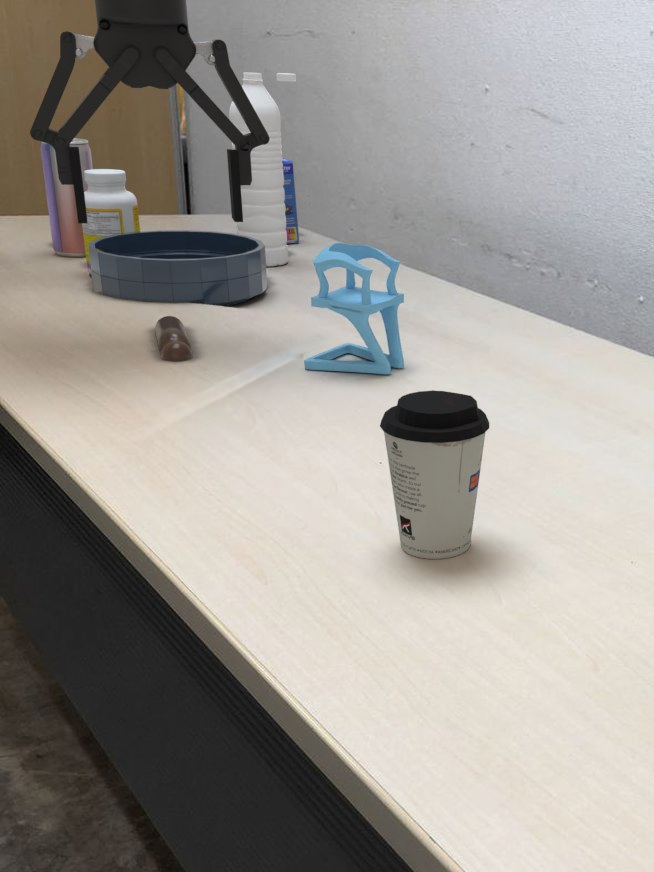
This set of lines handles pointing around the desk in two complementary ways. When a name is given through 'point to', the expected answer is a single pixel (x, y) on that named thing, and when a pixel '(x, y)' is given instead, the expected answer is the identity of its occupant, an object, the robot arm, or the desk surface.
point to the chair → (359, 310)
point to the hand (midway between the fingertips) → (162, 220)
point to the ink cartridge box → (290, 202)
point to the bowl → (179, 266)
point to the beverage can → (64, 201)
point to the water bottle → (264, 173)
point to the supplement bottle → (108, 206)
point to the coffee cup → (435, 469)
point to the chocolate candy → (172, 339)
